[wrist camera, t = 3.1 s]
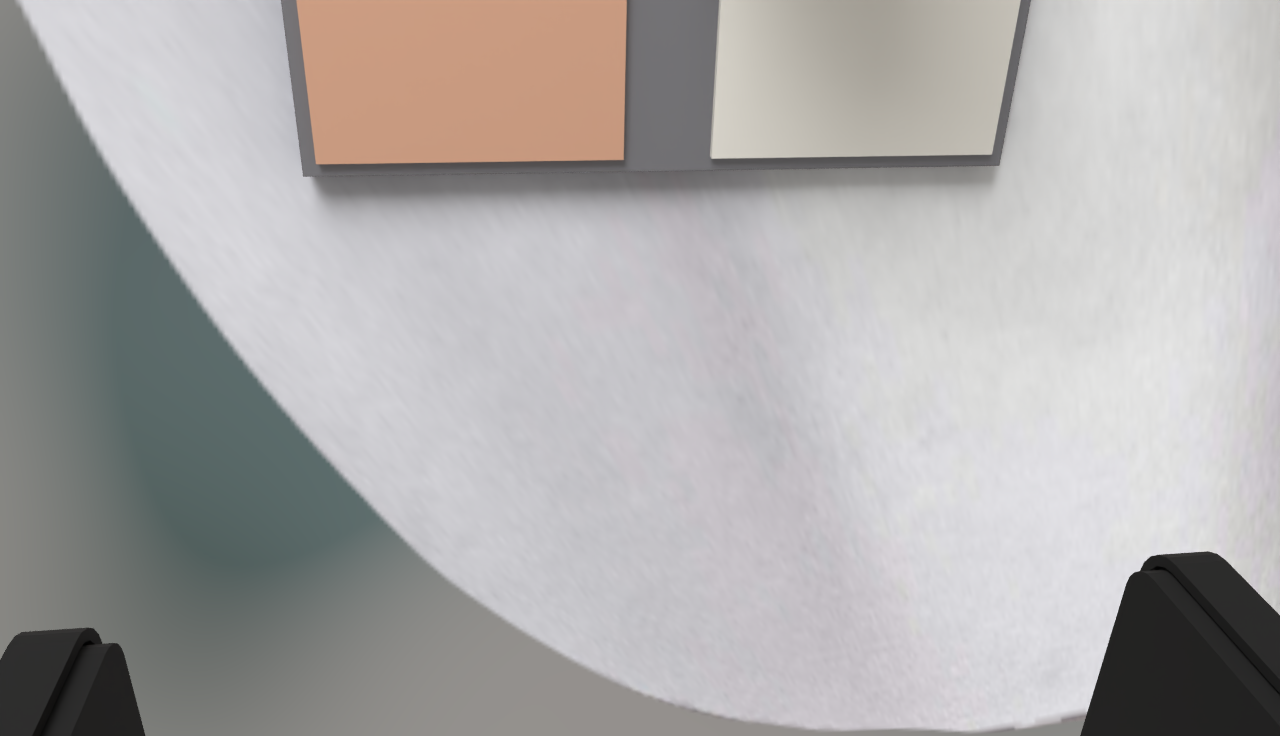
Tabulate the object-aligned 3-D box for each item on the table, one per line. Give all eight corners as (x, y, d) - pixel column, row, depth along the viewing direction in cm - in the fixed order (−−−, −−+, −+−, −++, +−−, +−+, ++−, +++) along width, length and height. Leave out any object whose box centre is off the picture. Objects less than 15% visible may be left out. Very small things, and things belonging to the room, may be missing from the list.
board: (1043, -148, 34) (1063, -146, 33) (987, 157, 39) (1003, 168, 38) (266, -167, 31) (258, -165, 30) (307, 167, 36) (301, 179, 35)
